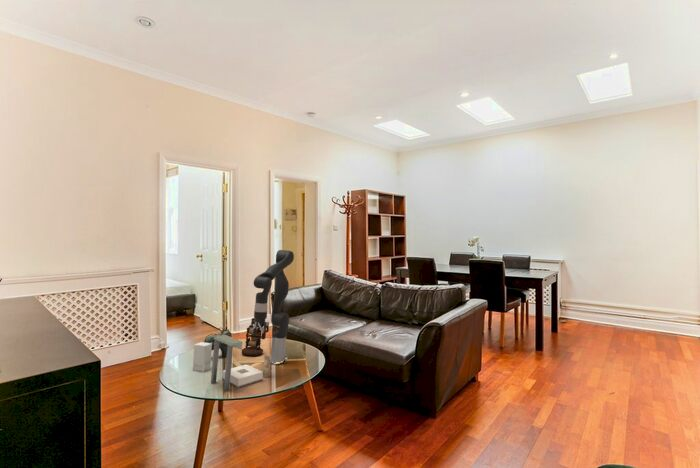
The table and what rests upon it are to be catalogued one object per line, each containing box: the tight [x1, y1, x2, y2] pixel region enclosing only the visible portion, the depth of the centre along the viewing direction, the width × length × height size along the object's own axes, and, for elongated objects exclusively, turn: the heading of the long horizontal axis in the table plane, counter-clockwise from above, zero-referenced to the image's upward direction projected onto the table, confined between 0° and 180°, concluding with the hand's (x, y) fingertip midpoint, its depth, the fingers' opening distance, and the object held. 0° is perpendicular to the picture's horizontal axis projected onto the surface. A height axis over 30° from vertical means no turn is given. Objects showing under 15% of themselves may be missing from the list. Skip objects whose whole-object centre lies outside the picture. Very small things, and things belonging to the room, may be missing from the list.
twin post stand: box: [210, 335, 243, 392], centre depth 189 cm, size 7×17×25 cm, turn 52°
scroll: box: [241, 324, 264, 357], centre depth 245 cm, size 15×15×20 cm
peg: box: [262, 354, 271, 377], centre depth 206 cm, size 4×4×12 cm
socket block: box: [221, 363, 263, 389], centre depth 198 cm, size 16×16×5 cm
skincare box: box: [192, 341, 213, 373], centre depth 209 cm, size 8×7×16 cm
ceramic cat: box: [203, 327, 233, 358], centre depth 230 cm, size 20×6×20 cm, turn 139°
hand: (258, 337), depth 205 cm, fingers open, 8 cm apart
